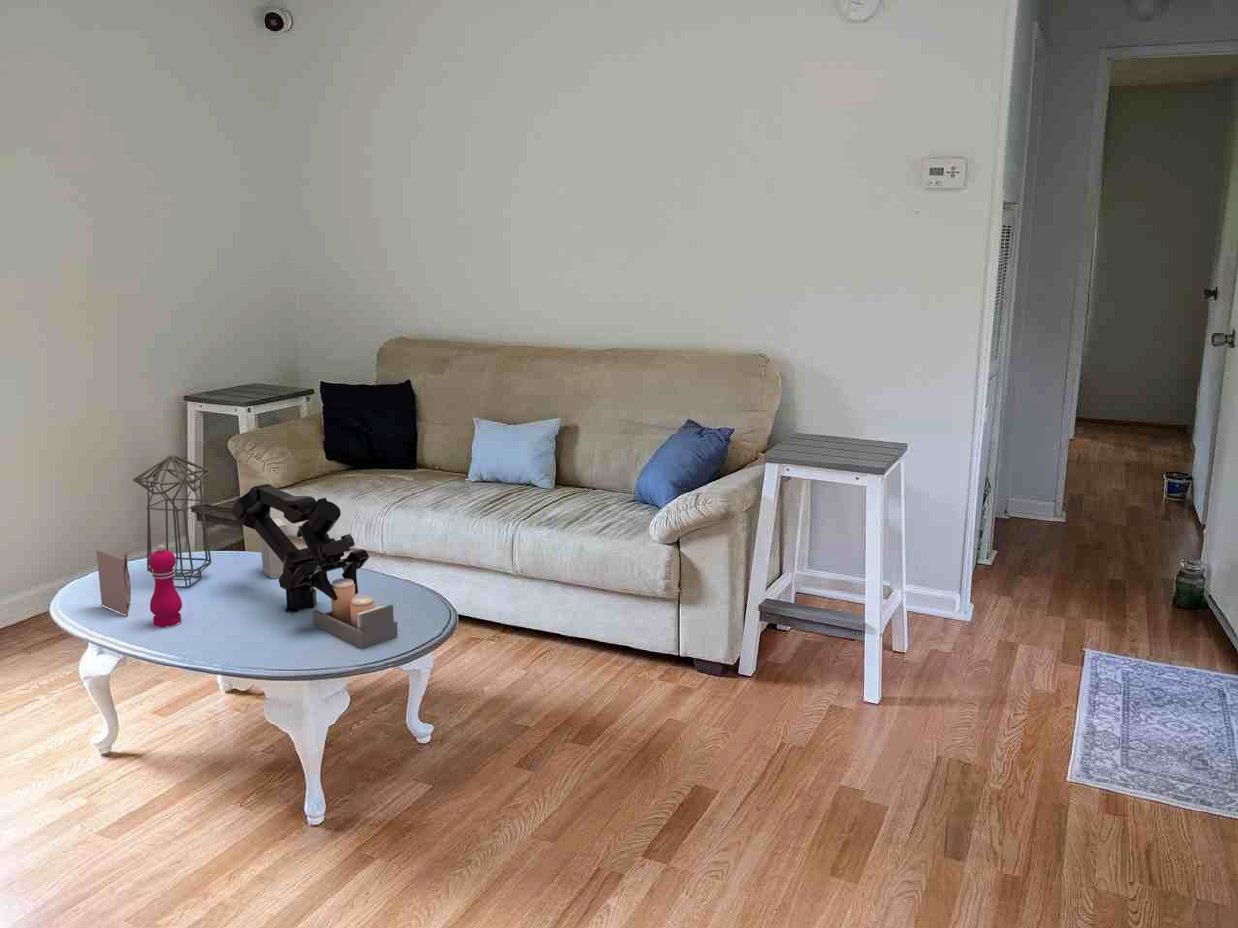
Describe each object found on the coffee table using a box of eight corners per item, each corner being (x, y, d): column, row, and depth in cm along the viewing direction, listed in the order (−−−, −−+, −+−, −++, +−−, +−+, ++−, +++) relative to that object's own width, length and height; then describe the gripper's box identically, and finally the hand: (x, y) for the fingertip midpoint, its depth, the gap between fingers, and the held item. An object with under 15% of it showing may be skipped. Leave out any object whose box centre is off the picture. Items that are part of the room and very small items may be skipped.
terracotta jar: (335, 626, 254) (333, 587, 252) (329, 618, 259) (328, 579, 256) (358, 622, 257) (357, 584, 254) (352, 614, 261) (351, 576, 259)
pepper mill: (190, 619, 262) (183, 542, 257) (168, 630, 255) (162, 551, 250) (166, 615, 264) (159, 538, 259) (144, 625, 257) (137, 547, 253)
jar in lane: (348, 638, 250) (347, 603, 248) (354, 629, 256) (353, 594, 254) (372, 639, 250) (370, 603, 248) (377, 630, 256) (376, 595, 254)
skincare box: (291, 576, 293) (288, 524, 290) (269, 579, 290) (266, 527, 287) (282, 567, 300) (279, 516, 297) (260, 570, 297) (257, 519, 293)
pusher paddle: (358, 641, 248) (357, 613, 247) (384, 632, 254) (383, 605, 252) (363, 644, 247) (362, 616, 245) (389, 635, 252) (389, 607, 251)
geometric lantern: (138, 590, 281) (126, 460, 273) (170, 571, 296) (160, 448, 288) (194, 593, 278) (184, 463, 271) (223, 574, 294) (215, 450, 286)
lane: (313, 628, 258) (311, 593, 256) (348, 617, 265) (347, 583, 263) (362, 651, 245) (360, 615, 243) (397, 639, 253) (396, 604, 251)
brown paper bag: (131, 616, 263) (126, 559, 259) (98, 619, 260) (92, 561, 257) (134, 600, 273) (129, 545, 270) (102, 603, 271) (97, 547, 267)
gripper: (296, 533, 248) (325, 590, 243) (363, 517, 261) (392, 571, 257) (280, 557, 255) (307, 612, 250) (346, 540, 268) (373, 593, 264)
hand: (346, 596), depth 255 cm, fingers closed on terracotta jar, 5 cm apart
